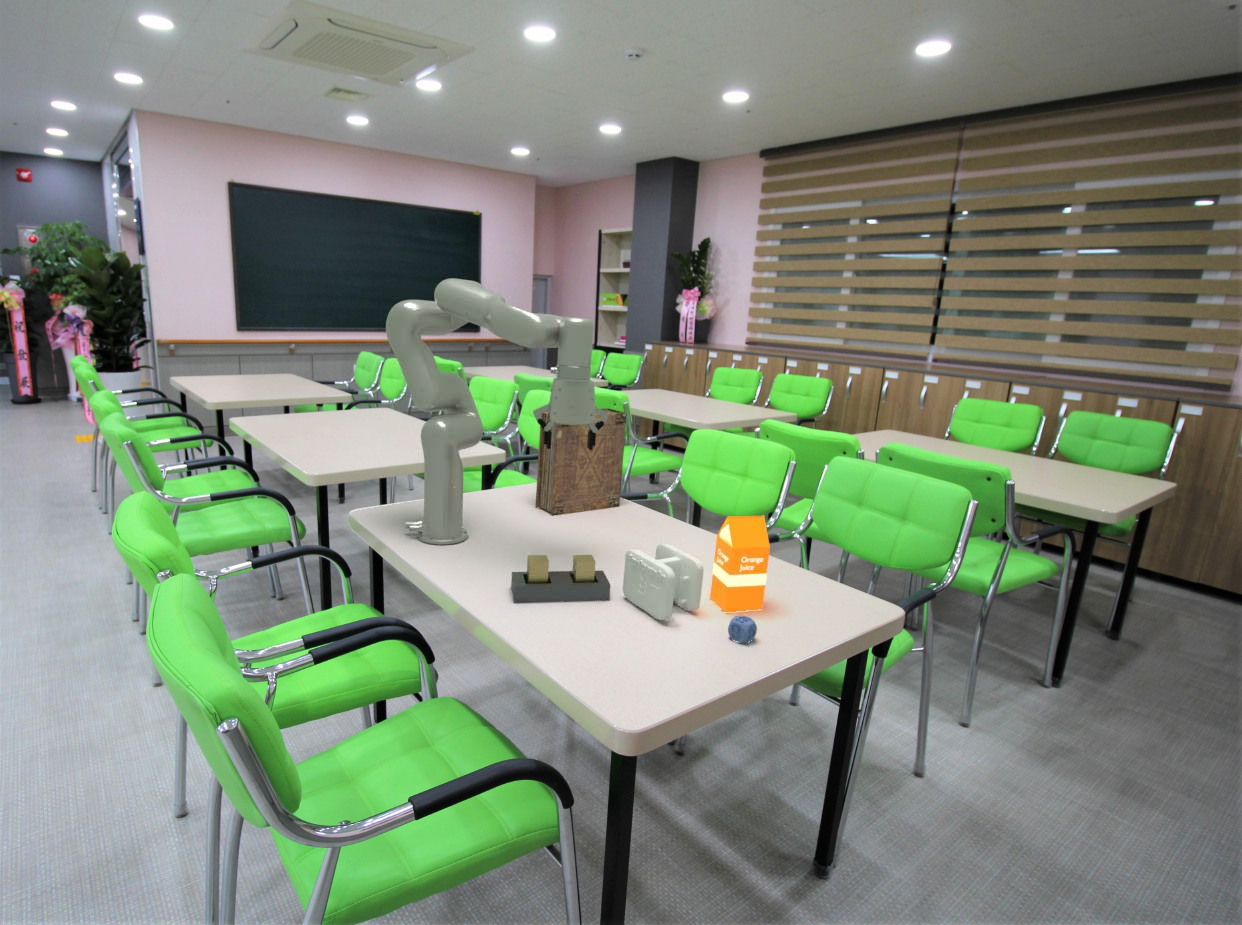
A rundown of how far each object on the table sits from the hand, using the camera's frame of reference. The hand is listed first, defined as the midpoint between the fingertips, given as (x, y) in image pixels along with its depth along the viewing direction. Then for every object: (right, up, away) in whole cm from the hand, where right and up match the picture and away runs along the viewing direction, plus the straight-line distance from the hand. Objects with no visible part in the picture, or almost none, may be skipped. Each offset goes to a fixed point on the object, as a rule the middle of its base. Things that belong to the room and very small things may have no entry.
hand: (569, 448), depth 155 cm
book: (-1, -17, +54) cm, 57 cm away
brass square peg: (+4, -31, -10) cm, 33 cm away
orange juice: (+37, -34, -10) cm, 51 cm away
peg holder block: (-1, -31, -11) cm, 33 cm away
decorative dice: (+35, -37, -25) cm, 57 cm away
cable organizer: (+20, -34, -14) cm, 42 cm away
